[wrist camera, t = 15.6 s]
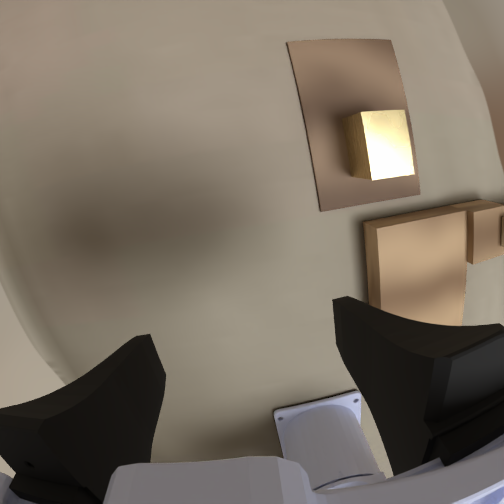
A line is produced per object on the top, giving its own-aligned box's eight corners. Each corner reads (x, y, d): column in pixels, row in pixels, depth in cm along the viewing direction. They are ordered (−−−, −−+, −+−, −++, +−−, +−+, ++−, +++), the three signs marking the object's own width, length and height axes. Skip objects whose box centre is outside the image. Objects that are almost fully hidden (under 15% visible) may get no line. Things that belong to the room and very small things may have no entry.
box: (474, 321, 25) (493, 336, 22) (369, 359, 25) (383, 381, 22) (481, 199, 21) (505, 205, 18) (362, 221, 21) (381, 231, 18)
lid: (415, 193, 22) (447, 200, 18) (318, 210, 22) (337, 221, 18) (386, 43, 18) (413, 24, 14) (285, 45, 18) (296, 21, 14)
